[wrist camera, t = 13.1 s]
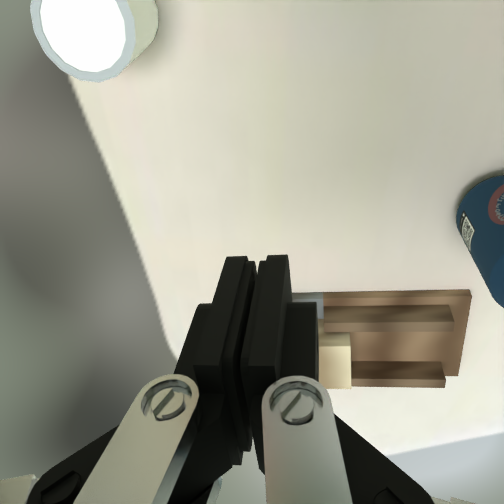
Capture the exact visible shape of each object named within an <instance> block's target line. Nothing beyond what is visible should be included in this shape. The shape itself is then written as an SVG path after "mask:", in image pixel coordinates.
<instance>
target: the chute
mask: <svg viewBox="0 0 504 504" xmlns="http://www.w3.org/2000/svg"><path fill="white" fill-rule="evenodd" d="M471 299H472V295H471V293H470V291H469V290H426V291H375V292H323V293H292V301H293V302H317V314H318V319H324V332H349V334H350V347H351V386H358V387H422V388H445V383H446V378H445V376H458V373H459V367H460V361H461V356H462V350H463V344H464V339H465V333H466V327H467V321H468V316H469V310H470V304H471Z"/></svg>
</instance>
